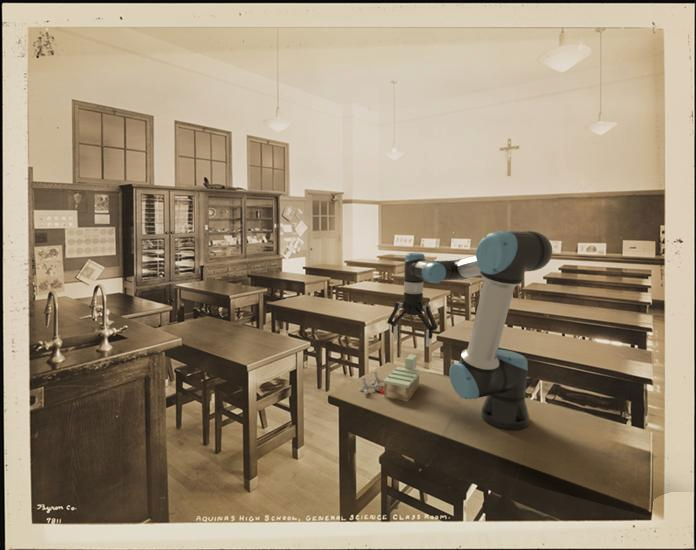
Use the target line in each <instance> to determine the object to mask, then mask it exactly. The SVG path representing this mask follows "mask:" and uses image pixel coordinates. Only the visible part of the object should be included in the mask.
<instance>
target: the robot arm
mask: <svg viewBox="0 0 696 550" xmlns="http://www.w3.org/2000/svg"><path fill="white" fill-rule="evenodd" d="M552 256H553V246H552V243H551V241H550V239H549V238H547V237H546V236H545V235H544V234H543V233H541V232H539V231H532V230H531V231H528V230H527V231H512V230H511V231H509V230H508V231H507V230H501V231H500V230H499V231H493V232H490V233H487V235H484V236H483V238H481V240H480V242H479V243H478V245H477V247H476V251H475V254H474V255H470V256H467V257H463V258H459V259H454V260H426V258H425V254H424V253H421V252H420V253H419V252H408V253H406V254H405V259H404V276H403V278H404V279H403V280H404V281H403V282H404V283H403V291H404V292H403V302H400V301H396V302H395V303H394V304H395V306H394V309H393V310H392V312H391V314H390V316H389V317H388V320H387V322H386V324H387V325H388V324H389V325H390V326H391V329H390V331H391V332H390V333H392V334H393V337H392V338H393V343H395V342H397V341H398V322H400V320H401V319H402V318H404V316H405V315H408V316H413V317H414V316H415V317H416V316H417V317H418V318H419V319H420V320H421V322H422V323H423V325H425V327H426V328H427V330H426V338H425V339H426V340H425V347H427V348H429V346H430V345H431V343H430V341H431V339H433V332H434V331H436V330H438V328H439V327H438V324H437V322H436V320H435V317H434V316H433V313H432V309H431V305H430V304H427V305H424V304H423V301H424V299H423V297H424V294H423V291H424V282H427V283H430V284H432V283H433V284H439V283H441V282H442V281H455V280H456V281H457V280H458V281H459V280H460V281H461V280H469V279H470V278H474V277H477V276H478V277H479V276H481V277H482V278H483V283H482V288H481V292H480V295H479V299H478V305H477V308H476V312H475V317H474V320H473V325H472V330H471V332H470V333H471V334H470V336H469V337H470V338H469V342H468V346H467V348H465V349H463V350H462V351H461V355H460V359H459V361H456V362H454V363H452V364H451V365H450V368H449V372H448V373H449V374H448V375H449V380H450V383H451V386H452V388H453V390H454V392H455V393H456V394H457V395H458V396H459V397H460V398H462V399H464V400H477V399H480V398H485V397H486V398H485V400H484V402H483V405H482V407H481V412H480V415H481V416H480V417H481V418H482V420H484V422H486V423H488V424H489V425H491V426H494V427H496V428H498V429H499V428H500V429H504V430H510V431H511V430H513V431H517V430H519V431H520V430H523V429H526V428H527V427H528V426H529V424H530V414H529V410H528V407H527V403H526V391H527V379H528V371H529V368H528V359H527V358H526V357H525V356H524V355H523V354H520V353H517V352H515V351H512V350H507V349H506V350H505V349H499V346H500V342H501V339H502V336H503V332H504V328H505V324H506V320H507V317H508V313H509V309H510V305H511V303H512V298H513V294H514V290H515V287H517V286H519V285H521V284H522V283H523V279H524V276H525V272H534V271H535V272H536V271H538V270H541V269H543V268H544V267H546V266H547V265H548V263H550V261H551V258H552ZM401 307H402V309H403V311H402V312H401V313H399V315H398V316H397V317H396V315H397V313H398V311H399V309H400V308H401ZM423 311H425V312H426V316H427V317H426V316H425V314H424V313H423ZM395 317H396V319H394V318H395ZM427 318H428V319H427Z"/></svg>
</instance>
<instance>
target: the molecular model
mask: <svg viewBox="0 0 696 550" xmlns="http://www.w3.org/2000/svg"><path fill="white" fill-rule="evenodd" d="M373 375H374V377H375V378H374V380H373V381H371V382H370V383H369V384H370V385H368V384H367V382H366V377H365V376H362V377H361V381H362V383H363V385H362V387H361V388H358V390H357V391H358V392H363V391H364V392H363V394H364V395H368V394H369V391H368V390H369V389H373V390H374V391H378V392H379V393H380V394H381V395H384V392H385V388H382V387H381V386H380V383H382V384H385V383H384V380H385V379H380V377H378V371H377V370H374V371H373Z"/></svg>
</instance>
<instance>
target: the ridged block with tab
mask: <svg viewBox="0 0 696 550" xmlns="http://www.w3.org/2000/svg"><path fill="white" fill-rule="evenodd" d="M417 359H418V358H417V354H412V353H409V354H408V355H407V357H405V358H404V361H405V364H404V367H402V366H396V367H395V368H394V369H393V370H392V371H391V372H390V373H389V374H388V375H387V376H386V378H384V379H383V380H384V383H383V384H385V383H386V384H391V385H396V386H402V387H407V388H409V387H410V385H411V384H412V383H413V382H414V380H415V379H416V378H417V377H418V375H419V376H420V375H421V370H419V369H416V368H417V364H418V363H417V361H418V360H417Z"/></svg>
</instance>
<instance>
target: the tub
mask: <svg viewBox="0 0 696 550" xmlns="http://www.w3.org/2000/svg"><path fill="white" fill-rule="evenodd" d="M419 387H420V374H419V375H418V377H417V378H416V379H415V380H414V382H413V383H412V384H411V385H410V387H409V388H407V387H402V386H396V385H391V384H386V383H384V390H385V392H384V394H383V395H384V398H388V399H394V400H399V401H403V402H406V403H407V402H409V401H410V399H411V398H412V396H413V395H414V393H415V392H416V391H417V390H418V388H419Z"/></svg>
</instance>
